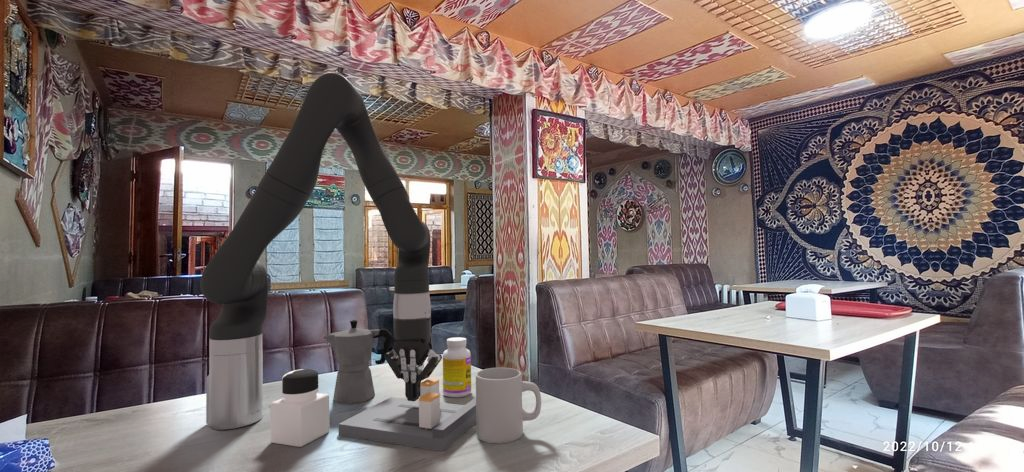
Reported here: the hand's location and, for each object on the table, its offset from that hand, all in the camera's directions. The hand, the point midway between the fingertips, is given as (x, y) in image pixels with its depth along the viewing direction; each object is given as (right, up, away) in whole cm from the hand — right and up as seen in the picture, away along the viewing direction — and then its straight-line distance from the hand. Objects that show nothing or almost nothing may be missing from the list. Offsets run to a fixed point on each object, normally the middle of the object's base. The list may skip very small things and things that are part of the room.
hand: (413, 399), depth 91 cm
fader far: (+4, -1, -2) cm, 4 cm away
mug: (+20, -3, -10) cm, 22 cm away
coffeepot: (-16, -4, +13) cm, 21 cm away
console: (+1, -3, -5) cm, 6 cm away
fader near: (+5, -1, -11) cm, 12 cm away
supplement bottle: (+7, -4, +14) cm, 16 cm away
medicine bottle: (-19, -4, -9) cm, 21 cm away
